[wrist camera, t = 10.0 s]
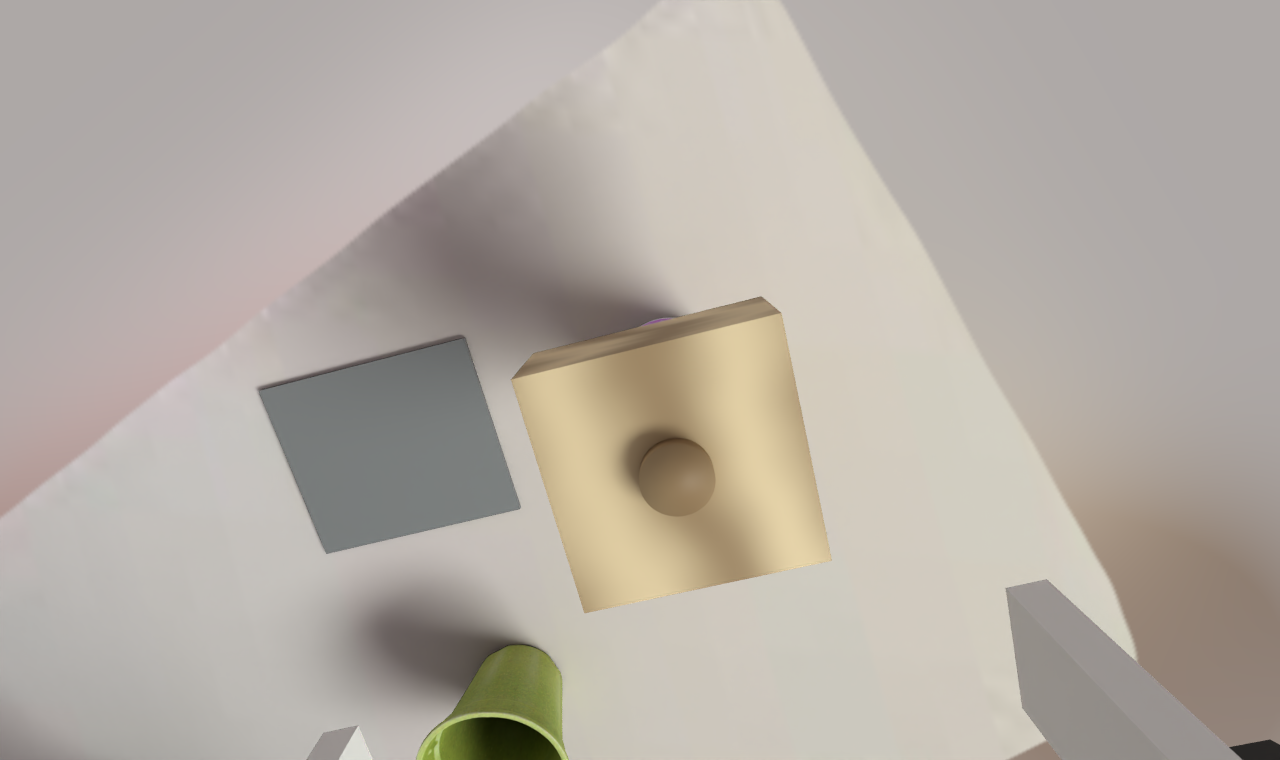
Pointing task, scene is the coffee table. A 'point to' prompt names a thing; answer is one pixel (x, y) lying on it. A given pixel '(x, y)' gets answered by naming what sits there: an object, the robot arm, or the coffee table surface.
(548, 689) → the plant pot
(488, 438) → the mat
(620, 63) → the coffee table surface
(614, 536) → the lid
